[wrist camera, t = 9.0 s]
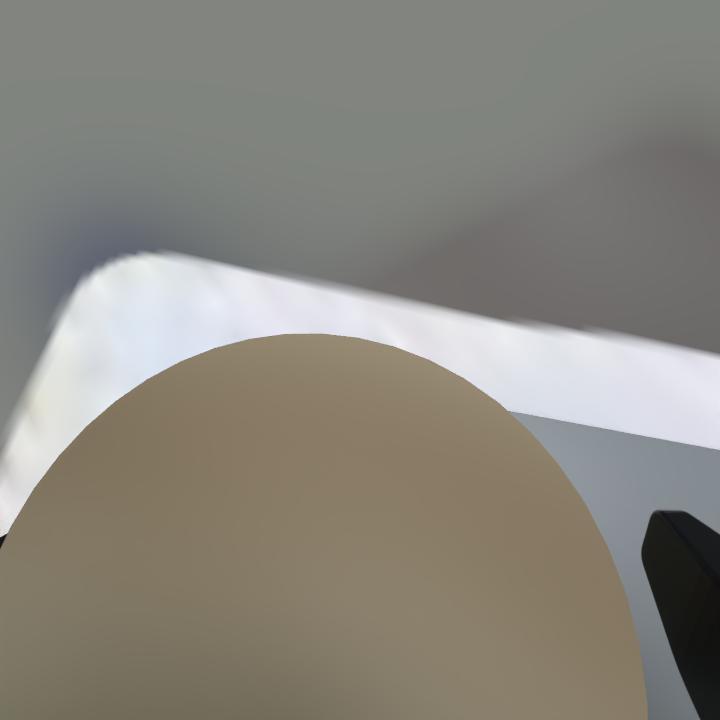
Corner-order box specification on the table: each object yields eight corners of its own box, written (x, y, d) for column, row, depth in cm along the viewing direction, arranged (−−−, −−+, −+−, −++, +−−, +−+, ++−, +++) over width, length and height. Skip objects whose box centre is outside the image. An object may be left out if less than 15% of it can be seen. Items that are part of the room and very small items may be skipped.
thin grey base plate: (993, 510, 14) (1178, 508, 11) (1073, 1046, 11) (1378, 1291, 8) (292, 378, 18) (264, 345, 14) (193, 755, 15) (124, 831, 11)
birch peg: (451, 667, 14) (644, 1401, 2) (282, 619, 14) (-195, 976, 3) (478, 487, 15) (680, 383, 4) (323, 453, 16) (100, 281, 5)
